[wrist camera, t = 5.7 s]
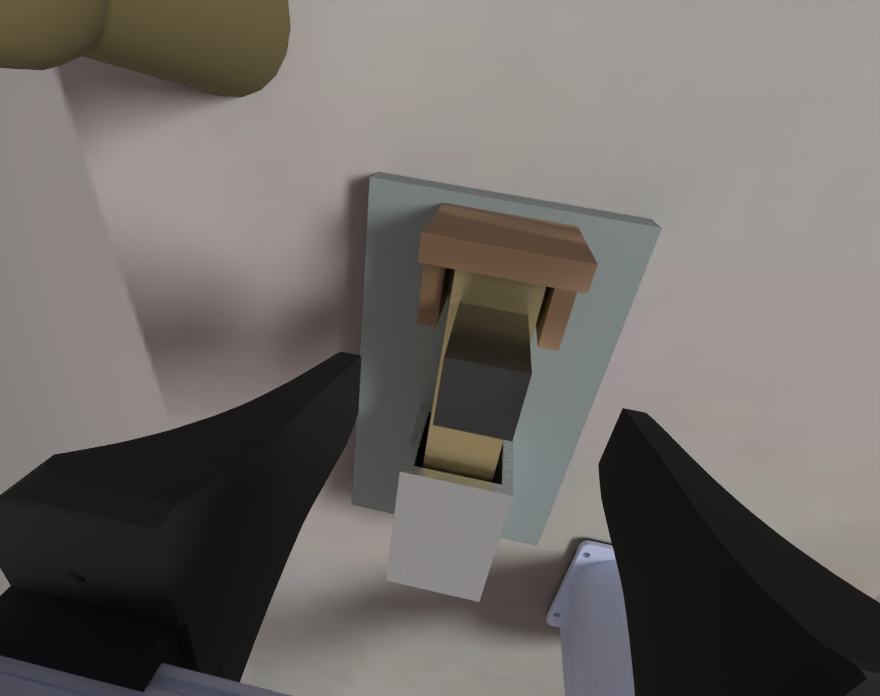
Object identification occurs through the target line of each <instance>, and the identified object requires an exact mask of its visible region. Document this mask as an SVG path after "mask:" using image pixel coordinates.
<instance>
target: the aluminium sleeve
mask: <svg viewBox="0 0 880 696" xmlns="http://www.w3.org/2000/svg"><path fill="white" fill-rule="evenodd" d="M432 408H433V406H428V405H423V404H421V406H420V409H419V412H418V416H417V419H416V422H415V425H414V428H413V431H412V435H411V438H410V441H409V444H408V447H407V450H406V454H405V457H404V460H403V463H402V466H401V469H400V474H399V482H398V489H397V497H396V505H395V513H394V520H393V528H392V536H391V544H390V552H389V559H388V567H387V575H386V581H391V582H395V583H399V584H404V585H408V586H412V587H417V588H421V589H425V590H429V591H434V592H438V593H442V594H447V595H451V596H455V597H460V598H464V599H468V600H472V601H477V602H479V601H480V598H481V595H482V592H483V589H484V586H485V583H486V579H487V576H488V573H489V570H490V567H491V564H492V561H493V558H494V554H495V551H496V548H497V545H498V542H499V539H500V536H501V533H502V530H503V526H504V523H505V520H506V517H507V514H508V511H509V508H510V505H511V501H512V498H513V441H514V437H513V441H512V442H511V441H507V440H503V444H502V447H501V451H500V455H499V458H498V462H497V465H496V469H495V473H494V476H493V480H492V483H491V482H487V481H482V480H477V479H473V478H468V477H463V476H459V475H454V474H449V473H445V472H440V471H435V470H431V469H426V468H423V463H424V456H425V450H426V444H427V438H428V432H429V426H430V420H431V414H432Z"/></svg>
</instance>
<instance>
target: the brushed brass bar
mask: <svg viewBox="0 0 880 696" xmlns="http://www.w3.org/2000/svg"><path fill="white" fill-rule="evenodd" d="M545 290H546V286H542V285H537V284H531V283H526V282H521V281H515V280H510V279H504V278H499V277H494V276H488V275H483V274H477V273H472V272H467V271H461V270H456V269H455V274H454V280H453V286H452V292H451V298H450V304H449V310H448V316H447V322H446V328H445V335H444V341H443V347H442V353H441V359H440V365H439V371H438V377H437V383H436V389H435V396H434V402H433V408H432V414H431V420H430V426H429V432H428V438H427V444H426V450H425V456H424V463H423V468H426V469H431V470H435V471H440V472H445V473H449V474H454V475H459V476H463V477H468V478H473V479H477V480H482V481H487V482H491V483H492V480H493V476H494V473H495V469H496V465H497V462H498V458H499V455H500V451H501V447H502V444H503V440H507V441H511V442H512V441H513V437H514V434H515V431H516V427H517V424H518V420H519V417H520V413H521V410H522V407H523V403H524V400H525V396H526V393H527V390H528V386H529V383H530V379H531V376H532V367H531V351H530V344H531V340H532V336H533V333H534V329H535V326H536V322H537V319H538V315H539V311H540V308H541V304H542V301H543V297H544V293H545Z"/></svg>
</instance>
